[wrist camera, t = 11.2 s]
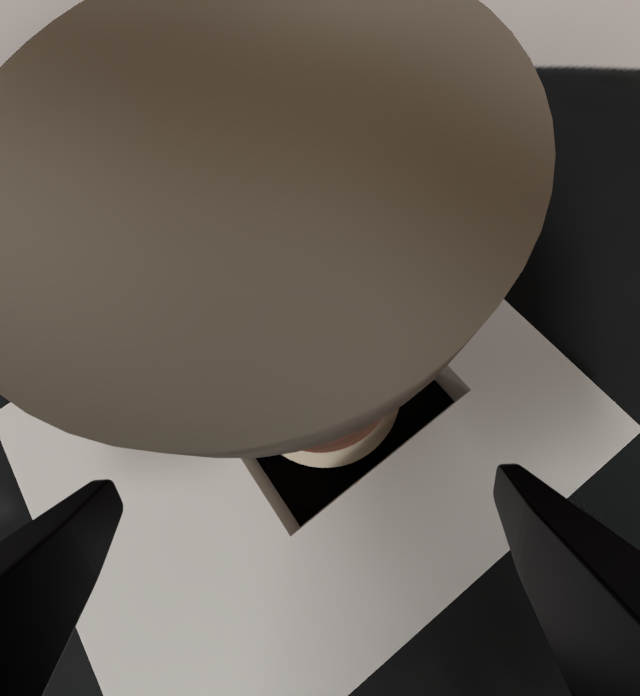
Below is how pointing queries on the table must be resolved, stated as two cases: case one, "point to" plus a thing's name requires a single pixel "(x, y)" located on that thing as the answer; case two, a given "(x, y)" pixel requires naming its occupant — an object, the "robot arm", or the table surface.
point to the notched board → (315, 531)
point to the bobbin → (259, 216)
